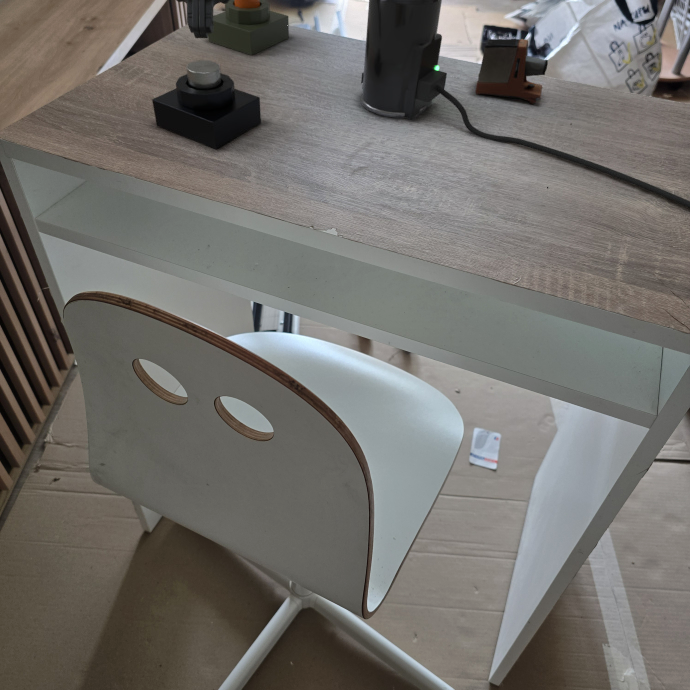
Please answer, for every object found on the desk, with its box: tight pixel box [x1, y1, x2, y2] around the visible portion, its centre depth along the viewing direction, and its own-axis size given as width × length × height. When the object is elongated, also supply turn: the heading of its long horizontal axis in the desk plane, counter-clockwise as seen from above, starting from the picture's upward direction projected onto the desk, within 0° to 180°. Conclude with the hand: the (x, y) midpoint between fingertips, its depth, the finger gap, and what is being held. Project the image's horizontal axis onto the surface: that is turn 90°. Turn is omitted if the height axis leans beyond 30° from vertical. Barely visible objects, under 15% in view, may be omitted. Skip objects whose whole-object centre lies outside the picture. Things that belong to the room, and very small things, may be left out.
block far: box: [207, 0, 290, 56], centre depth 98 cm, size 10×9×6 cm
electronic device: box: [475, 38, 549, 105], centre depth 88 cm, size 4×10×8 cm, turn 74°
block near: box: [151, 72, 262, 150], centre depth 77 cm, size 10×9×6 cm
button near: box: [186, 59, 221, 91], centre depth 74 cm, size 4×4×2 cm
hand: (200, 34), depth 71 cm, fingers closed
